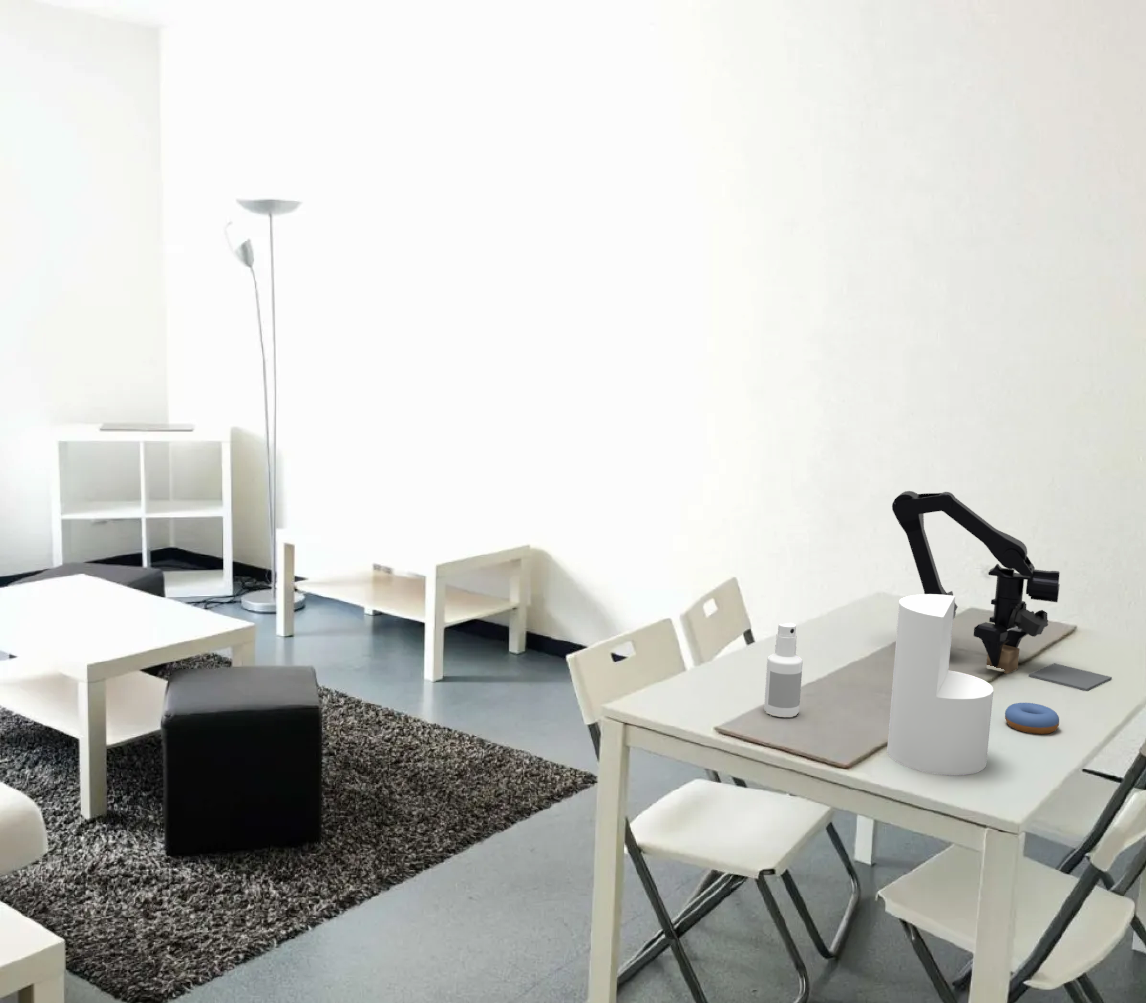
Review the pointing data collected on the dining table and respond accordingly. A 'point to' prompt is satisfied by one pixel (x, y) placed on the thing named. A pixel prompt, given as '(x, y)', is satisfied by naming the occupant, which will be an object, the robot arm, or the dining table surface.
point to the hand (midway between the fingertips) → (1002, 663)
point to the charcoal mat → (1070, 676)
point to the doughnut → (1032, 718)
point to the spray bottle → (784, 674)
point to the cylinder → (935, 695)
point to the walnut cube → (1007, 659)
